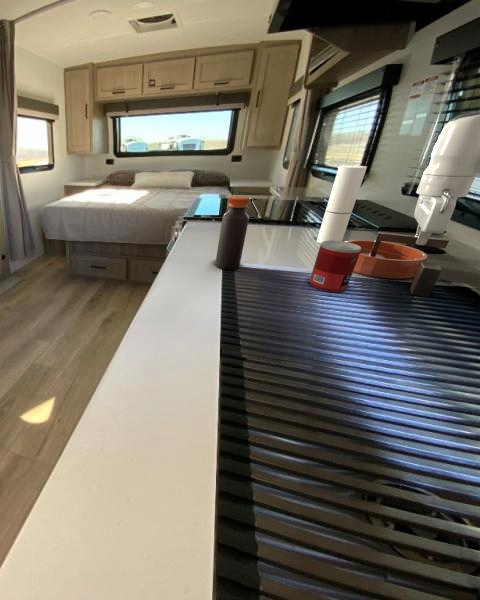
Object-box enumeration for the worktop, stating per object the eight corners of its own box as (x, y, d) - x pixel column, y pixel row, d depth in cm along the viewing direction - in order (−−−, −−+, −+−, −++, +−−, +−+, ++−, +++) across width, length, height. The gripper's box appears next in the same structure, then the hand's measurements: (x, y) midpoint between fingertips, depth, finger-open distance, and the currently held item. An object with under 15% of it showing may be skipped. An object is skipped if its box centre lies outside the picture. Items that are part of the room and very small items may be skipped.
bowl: (414, 264, 96) (422, 246, 94) (422, 286, 83) (432, 265, 81) (336, 253, 107) (341, 236, 104) (333, 271, 93) (339, 252, 91)
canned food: (347, 295, 80) (363, 251, 75) (308, 288, 84) (321, 247, 79) (345, 283, 86) (360, 242, 81) (308, 278, 90) (320, 238, 85)
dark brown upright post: (426, 291, 81) (439, 264, 77) (428, 297, 78) (442, 270, 75) (409, 288, 82) (421, 262, 79) (411, 294, 79) (423, 267, 76)
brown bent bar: (431, 270, 89) (446, 237, 85) (433, 276, 85) (450, 242, 81) (357, 259, 97) (369, 229, 93) (357, 264, 94) (369, 233, 90)
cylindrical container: (340, 240, 118) (365, 165, 107) (341, 246, 113) (368, 167, 101) (316, 238, 121) (338, 165, 110) (316, 243, 116) (339, 167, 105)
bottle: (241, 271, 96) (255, 200, 87) (216, 270, 97) (228, 200, 88) (236, 263, 101) (249, 195, 93) (213, 262, 103) (223, 195, 94)
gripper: (472, 194, 71) (443, 255, 77) (453, 182, 85) (430, 235, 91) (431, 192, 74) (406, 251, 81) (420, 181, 89) (399, 232, 95)
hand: (419, 242), depth 86 cm, fingers closed on brown bent bar
